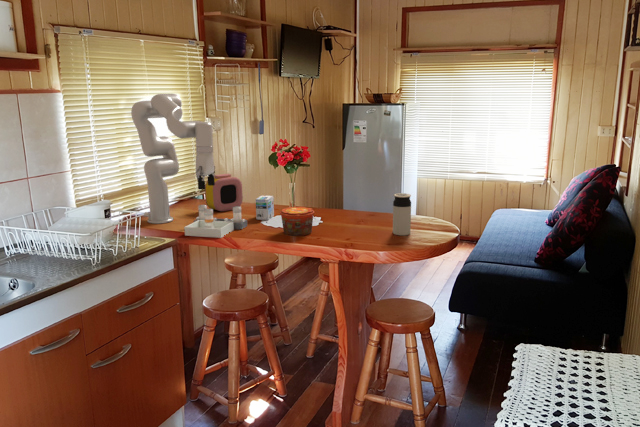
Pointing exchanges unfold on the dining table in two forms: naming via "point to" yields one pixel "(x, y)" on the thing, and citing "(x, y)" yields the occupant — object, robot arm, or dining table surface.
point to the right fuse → (237, 214)
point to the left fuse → (202, 211)
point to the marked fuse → (208, 218)
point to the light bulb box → (264, 207)
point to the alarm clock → (224, 193)
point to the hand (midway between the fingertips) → (206, 187)
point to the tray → (209, 229)
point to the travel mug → (401, 214)
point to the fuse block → (236, 225)
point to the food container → (297, 220)
